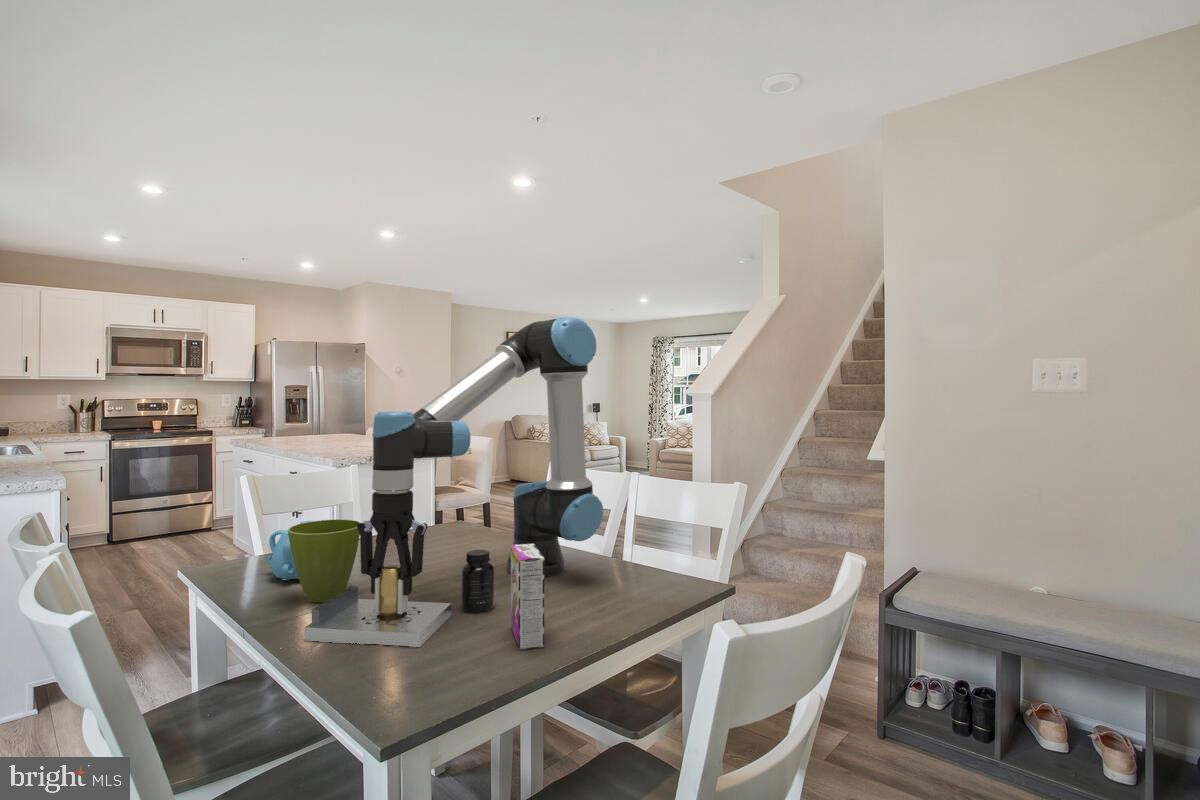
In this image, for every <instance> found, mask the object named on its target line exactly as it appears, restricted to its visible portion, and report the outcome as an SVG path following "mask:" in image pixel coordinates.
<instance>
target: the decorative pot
mask: <svg viewBox="0 0 1200 800" xmlns="http://www.w3.org/2000/svg"><path fill="white" fill-rule="evenodd" d="M312 521H313V520H303V521H300V522H299V524H301V523H306V522H312ZM278 535H280V536H279V539H278V541H277V542H276V537H277V536H278ZM268 543H269V546H270V550H271V552H272V553H271V554H270V555H268V557H267V563H268V564H269V565H270V567H269V568H270V570H271V572H272V574H273V575H274V576H275V577H276V578H277V579H278V578H279V579H291V580H294V579H295V580H297V579H298V580H299V578H298V575H297V572H296V568H295V565H294V561H293V557H292V553H291V548H290V542H289V535H288V529H285V530H284V529H281V530H277V531H275V532H273V533H272V534H271V535H270V537H269V541H268Z"/></svg>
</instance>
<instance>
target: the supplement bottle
mask: <svg viewBox="0 0 1200 800" xmlns="http://www.w3.org/2000/svg"><path fill="white" fill-rule="evenodd" d="M465 555H466V556H465V557H466V559H465V560H466V561H465V562H466V564H465V565H464V566H463V567H462V569H461V609H462V610H463V611H464V612H465V613H469V612H470V614H481V612H482V613H486V612H488V611H490V610H492V609H493V608H494V603H495V567H494V565H492V563H490V560H491V559H490V551H488V550H486V549H473V550H469V551H467V552H466V554H465Z"/></svg>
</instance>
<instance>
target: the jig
mask: <svg viewBox="0 0 1200 800" xmlns="http://www.w3.org/2000/svg"><path fill="white" fill-rule="evenodd" d="M451 616H452V603H451V602H450V603H449V602H448V603H447V602H431V601H430V602H427V601H425V602H424V601H409V600H408V609H407V610H406V611H405V612H403V613H402V618H401V619H398V620H391V621H384V620H380V612H379V613H375V599H369V598H368V599H366V598H359V586H358V585H351V586H349V587H346V589H345V590H344V591H342V592H341V593H339V594H337V595H336V596H334V597H332V598H330V599H329V600H327V601H325V602H321V603H320V604H319V605H317V606H314V607H313V608H312V609H311V623H309V624H308V625H306V626H304V628H303V632H304V634H303V635H304V636H303V641H304V642H312V641H319V642H318V643H329V642H332V643H333V644H347V643H348V644H349V643H351V644H352V645H364V644H383V645H385V644H386V645H401V646H402V645H403V646H410V647H409V648H416V647H419V648H420V647H421V646H423V644H425V643H426V642H427V641H428V639H429V638H430V637H432V636H433V634H434V633H435V632H436V631H437V630H438V629H440V627H441V626H442V625H443V624H444V623H446V621H447V620H448V619H450V617H451ZM353 643H354V644H353ZM355 643H357V644H355ZM348 644H347V645H348ZM351 644H350V645H351ZM411 646H412V647H411Z"/></svg>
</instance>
